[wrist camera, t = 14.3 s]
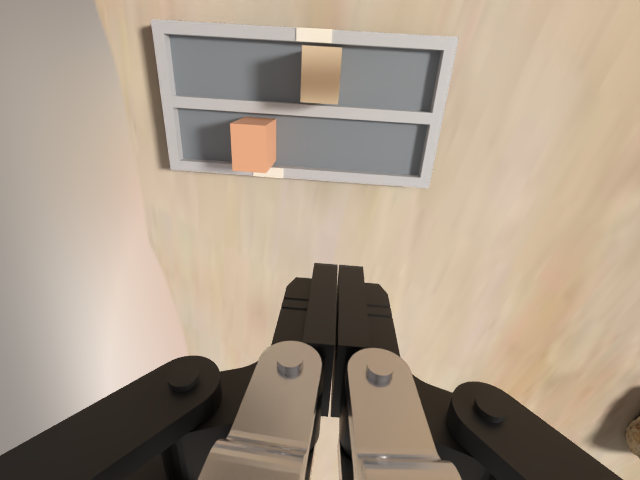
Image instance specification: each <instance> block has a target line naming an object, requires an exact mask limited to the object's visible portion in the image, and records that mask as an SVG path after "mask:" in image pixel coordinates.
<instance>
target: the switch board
mask: <svg viewBox="0 0 640 480" xmlns="http://www.w3.org/2000/svg"><path fill="white" fill-rule="evenodd" d="M151 26H152V33H153V41H154V48H155V56H156V63H157V71H158V78H159V86H160V94H161V101H162V109H163V116H164V124H165V131H166V139H167V146H168V154H169V161H170V169H171V170H181V171H194V172H208V173H222V174H236V175H250V176H259V177H273V178H292V179H305V180H319V181H333V182H347V183H361V184H375V185H389V186H402V187H416V188H429V185H430V180H431V175H432V170H433V165H434V159H435V154H436V149H437V144H438V139H439V134H440V129H441V124H442V119H443V114H444V109H445V104H446V99H447V94H448V89H449V84H450V79H451V74H452V69H453V64H454V59H455V54H456V49H457V44H458V39H459V37H448V36H431V35H414V34H397V33H380V32H363V31H346V30H331V29H314V28H294V27H277V26H260V25H243V24H226V23H209V22H192V21H174V20H157V19H151ZM302 45H307V46H324V47H340V48H342V61H341V75H340V88H339V101H338V105H336V104H321V103H305V102H300V99H301V65H302ZM243 117H258V118H273V119H276V161H275V163H274V164H273V165H272V166H271V168H270V169H269V170H268V172H267V173H257V172H243V171H233V169H232V151H231V132H230V123H232V122H234V121H237V120H239V119H241V118H243Z"/></svg>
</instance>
